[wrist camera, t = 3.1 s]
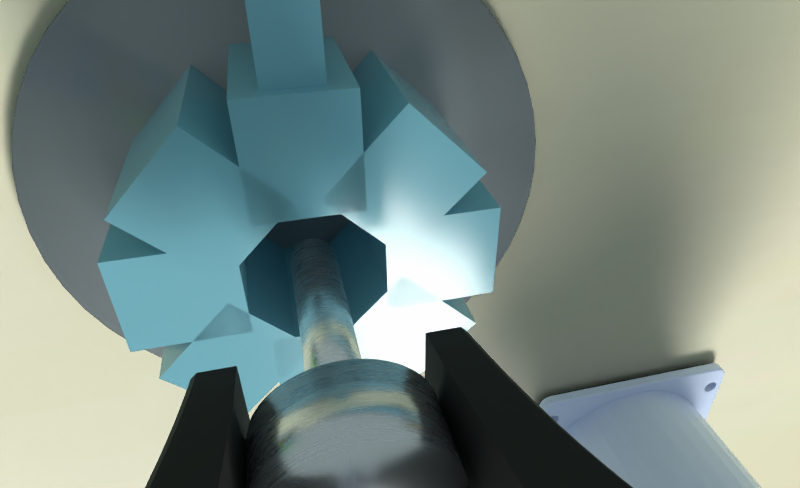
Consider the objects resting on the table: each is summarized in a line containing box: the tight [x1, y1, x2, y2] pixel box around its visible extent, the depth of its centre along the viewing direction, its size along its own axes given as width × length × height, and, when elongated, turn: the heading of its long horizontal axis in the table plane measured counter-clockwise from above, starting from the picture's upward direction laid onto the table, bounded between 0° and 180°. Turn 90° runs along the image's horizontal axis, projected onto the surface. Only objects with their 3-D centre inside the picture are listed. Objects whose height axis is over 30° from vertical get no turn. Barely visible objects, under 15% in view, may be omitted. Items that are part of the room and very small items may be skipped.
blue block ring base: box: [12, 0, 536, 412], centre depth 14 cm, size 13×13×4 cm
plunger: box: [246, 238, 470, 488], centre depth 10 cm, size 3×3×6 cm
